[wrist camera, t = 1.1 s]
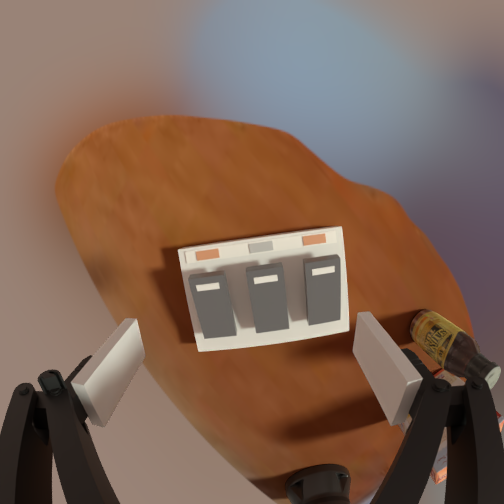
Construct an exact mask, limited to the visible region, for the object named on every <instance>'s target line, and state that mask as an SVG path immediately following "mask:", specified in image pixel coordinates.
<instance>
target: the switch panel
mask: <svg viewBox="0 0 504 504" xmlns="http://www.w3.org/2000/svg"><path fill="white" fill-rule="evenodd" d="M178 254H179V260H180V265H181V271H182V276H183V282H184V287H185V292H186V297H187V302H188V307H189V312H190V316H191V321H192V326H193V330H194V334H195V339H196V343H197V347H198V351H199V352H201V351H214V350H225V349H235V348H245V347H253V346H261V345H269V344H276V343H283V342H290V341H296V340H303V339H309V338H314V337H320V336H325V335H331V334H336V333H341V332H346V331H349V309H348V290H347V276H346V263H345V252H344V242H343V233H342V226H331V227H323V228H316V229H308V230H301V231H293V232H286V233H279V234H272V235H264V236H257V237H250V238H243V239H236V240H229V241H223V242H216V243H209V244H202V245H196V246H189V247H183V248H181V249H178ZM333 254H337V255H338V256H339V257H340V262H341V316H340V320H337V321H332V322H327V323H321V324H316V325H310V326H309V325H308V322H307V314H306V297H305V282H304V268H303V259H306V258H313V257H320V256H326V255H333ZM278 262H282V264H283V270H284V279H285V289H286V299H287V309H288V319H289V329H285V330H278V331H271V332H263V333H256V330H255V324H254V318H253V312H252V306H251V300H250V295H249V289H248V283H247V277H246V267H250V266H257V265H264V264H271V263H278ZM221 270H225V274H226V279H227V284H228V289H229V294H230V299H231V304H232V309H233V314H234V318H235V323H236V328H237V336H229V337H219V338H208V339H204V336H203V332H202V329H201V325H200V322H199V318H198V315H197V311H196V308H195V304H194V300H193V297H192V293H191V289H190V285H189V281H188V278H189V276H190V275H191V274H198V273H206V272H213V271H221Z"/></svg>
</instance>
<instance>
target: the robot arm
mask: <svg viewBox="0 0 504 504" xmlns="http://www.w3.org/2000/svg"><path fill="white" fill-rule="evenodd" d="M352 352H353V353H354V355H355V357H356V359H357V361H358V363H359V365H360V367H361V368H362V370H363V372H364V374H365V376H366V378H367V380H368V382H369V384H370V386H371V388H372V390H373V391H374V393H375V395H376V397H377V399H378V401H379V403H380V405H381V407H382V409H383V411H384V413H385V415H386V417H387V419H388V421H389V423H390V425H391V426H393V425H397V424H400V423H404V422H405V421H406V419H407V417H408V414H410V416H411V418H412V420H411V423H410V425H409V427H408V429H407V431H406V433H405V434H406V435H405V437H404V439H403V442H402V444H401V446H400V448H399V450H398V453H397V455H396V457H395V459H394V461H393V463H392V465H391V467H390V469H389V471H388V473H387V475H386V476H385V478H384V480H383V482H382V484H381V486H380V487H379V489H378V491H377V492H376V494H375V496H374V498H373V499H372V501H371V502H370V504H418V503H419V500H420V498H421V496H422V493H423V491H424V489H425V486H426V484H427V481H428V479H429V476H430V473H431V471H432V468H433V465H434V462H435V459H436V456H437V453H438V450H439V446H440V443H441V439H442V436H443V432H444V428H445V427H446V429H447V478H446V479H447V480H446V493H445V504H504V448H503V443H502V438H501V431H500V427H499V422H498V418H497V413H496V410H495V406H494V402H493V398H492V395H491V392H490V388H489V385H488V383H487V381H486V380H485V379H484V378H482V377H480V376H471V377H469V378H468V379H467V380H466V382H465V384H464V385H462V386H452V385H451V384H450V383H449V382H448V381H446V380H444V379H439V378H435V377H434V376H433V375H432V373H431V372H430V371H429V370H428V369H427V367H426V366H425V365H424V364H423V362H422V361H421V360H419V358H418V356H417V355H416V354H415V353H414V352H412V351H411V350H409V349H407V348H406V349H400V348H399V347H398V346H397V344H396V343H395V342H394V341H393V339H392V338H391V337H390V336H389V335H388V333H387V332H386V331H385V330H384V328H383V327H382V326H381V325H380V324H379V322H378V321H377V320H376V319H375V318H374V316H373V315H372V314H371V313H370V312H360V313H358V315H357V323H356V331H355V338H354V344H353V351H352ZM145 356H146V355H145V351H144V347H143V343H142V339H141V335H140V331H139V327H138V322H137V319H133V318H126V319H125V320H124V321H123V322H122V323H121V324H120V325H119V326H118V328H117V329H116V330H115V331H114V332H113V333H112V334H111V335H110V337H109V338H108V339H107V340H106V341H105V342H104V343H103V345H102V346H101V347H100V348H99V349H98V351H97V352H96V353H95V354H94V355H93V356H91V355H90V356H88V357H87V358H85V359H83V360H82V362H81V363H80V364H79V365H78V366H77V367H76V368H75V371H73V372H72V373H71V374H70V376H68V378H67V379H66V380H65V381H64V380H63V378H62V376H61V374H60V372H59V371H57V370H48V371H45V372H43V373H42V374H40V376H39V377H38V382H39V384H40V386H41V388H42V390H43V392H42V391H35V389H34V387H33V385H32V384H30V383H22V384H20V385H18V386H17V387H16V388H15V390H14V392H13V395H12V398H11V401H10V404H9V407H8V410H7V413H6V416H5V420H4V423H3V426H2V430H1V434H0V504H52V457H53V454H54V459H55V463H56V467H57V471H58V475H59V479H60V482H61V485H62V489H63V492H64V495H65V498H66V501H67V504H120V503H119V501H118V499H117V497H116V495H115V493H114V491H113V489H112V487H111V484H110V483H109V480H108V478H107V476H106V474H105V471H104V469H103V467H102V465H101V462H100V460H99V457H98V455H97V452H96V449H95V447H94V444H93V441H92V438H91V435H90V432H89V429H88V426H87V424H86V423H85V420H86V418H87V417H89V419H90V421H91V423H92V424H94V425H97V426H101V427H105V426H106V424H107V423H108V421H109V419H110V417H111V416H112V414H113V412H114V410H115V408H116V407H117V405H118V403H119V401H120V399H121V398H122V396H123V394H124V392H125V391H126V389H127V387H128V386H129V384H130V382H131V380H132V379H133V377H134V375H135V373H136V372H137V370H138V368H139V367H140V365H141V363H142V362H143V360H144V358H145ZM350 483H351V477H350V474H349V471H348V470H347V468H345V467H343V466H341V465H335V464H326V465H318V466H314V467H310V468H307V469H304V470H302V471H299V472H297V473H296V474H294V475H292V476H291V477H290V478H289V479H288V480H287V482H286V484H285V490H286V495H287V497H288V498H289V500H290V502H291V503H292V504H350V501H349V491H350Z"/></svg>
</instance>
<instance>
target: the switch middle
mask: <svg viewBox="0 0 504 504" xmlns="http://www.w3.org/2000/svg"><path fill="white" fill-rule="evenodd" d="M246 277H247V283H248V289H249V295H250V300H251V306H252V312H253V318H254V324H255V330H256V333H263V332H271V331H278V330H285V329H289V319H288V309H287V299H286V289H285V279H284V270H283V264H282V262H278V263H271V264H264V265H257V266H250V267H246Z"/></svg>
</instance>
